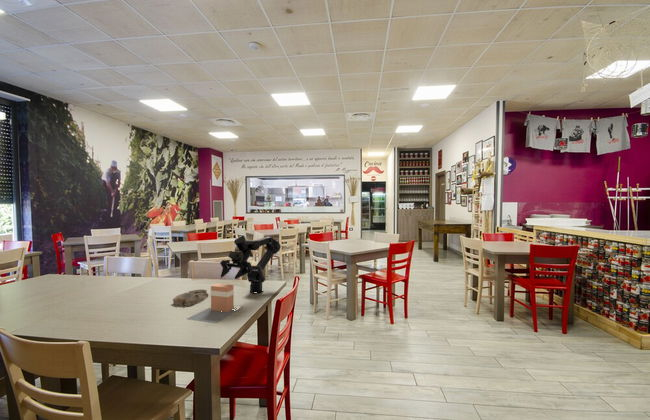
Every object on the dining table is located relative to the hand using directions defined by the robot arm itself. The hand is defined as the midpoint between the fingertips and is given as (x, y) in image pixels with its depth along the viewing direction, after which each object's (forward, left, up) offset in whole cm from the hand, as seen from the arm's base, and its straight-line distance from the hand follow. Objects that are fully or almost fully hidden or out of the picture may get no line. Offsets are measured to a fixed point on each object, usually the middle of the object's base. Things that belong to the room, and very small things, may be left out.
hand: (228, 277), depth 152 cm
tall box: (+6, +6, -14) cm, 16 cm away
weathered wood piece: (+9, -21, -15) cm, 28 cm away
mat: (+10, +8, -14) cm, 19 cm away
